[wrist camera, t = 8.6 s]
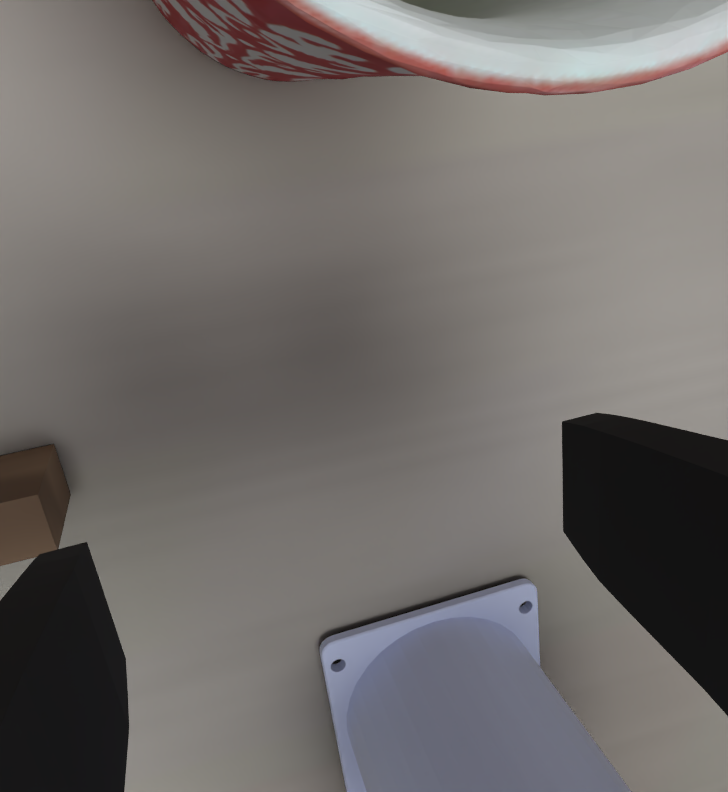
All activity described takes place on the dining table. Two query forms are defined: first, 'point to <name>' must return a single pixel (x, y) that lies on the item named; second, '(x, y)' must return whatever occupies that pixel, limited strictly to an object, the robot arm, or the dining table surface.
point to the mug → (459, 40)
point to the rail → (31, 503)
